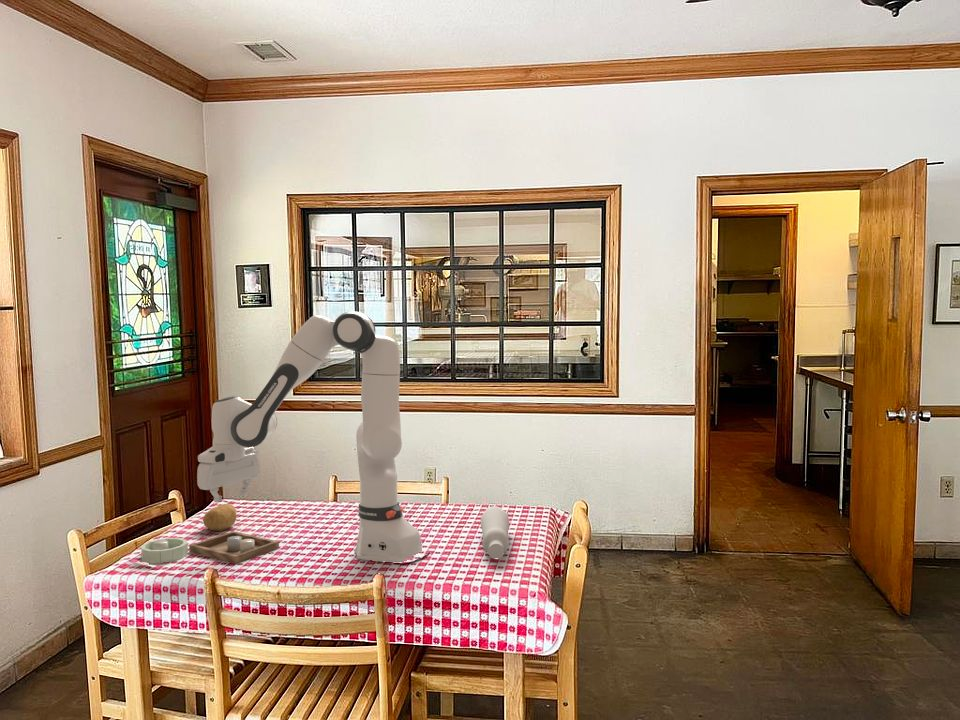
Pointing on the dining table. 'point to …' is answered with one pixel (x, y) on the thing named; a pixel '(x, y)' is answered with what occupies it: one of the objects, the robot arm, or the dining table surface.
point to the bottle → (495, 531)
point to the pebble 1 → (160, 545)
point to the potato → (220, 517)
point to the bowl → (164, 551)
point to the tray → (219, 551)
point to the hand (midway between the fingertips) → (231, 498)
